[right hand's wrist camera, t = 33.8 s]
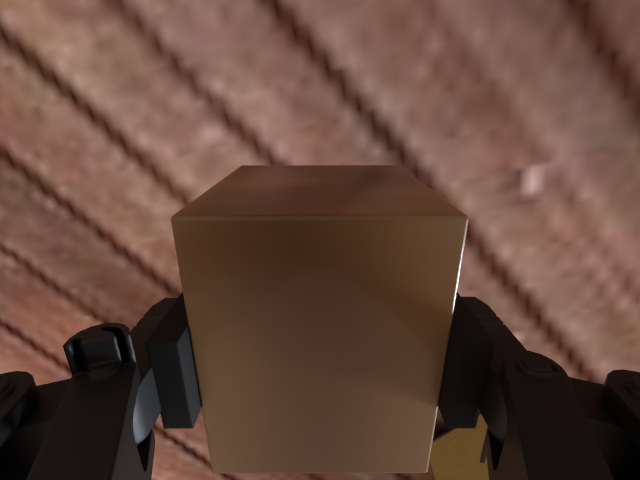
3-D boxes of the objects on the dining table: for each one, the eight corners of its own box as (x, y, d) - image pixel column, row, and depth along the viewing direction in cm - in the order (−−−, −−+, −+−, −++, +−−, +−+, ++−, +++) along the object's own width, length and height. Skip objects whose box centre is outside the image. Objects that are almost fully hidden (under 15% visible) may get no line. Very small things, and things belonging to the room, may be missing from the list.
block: (398, 165, 14) (471, 216, 7) (385, 330, 17) (428, 474, 10) (240, 165, 14) (168, 216, 7) (254, 330, 17) (211, 475, 10)
